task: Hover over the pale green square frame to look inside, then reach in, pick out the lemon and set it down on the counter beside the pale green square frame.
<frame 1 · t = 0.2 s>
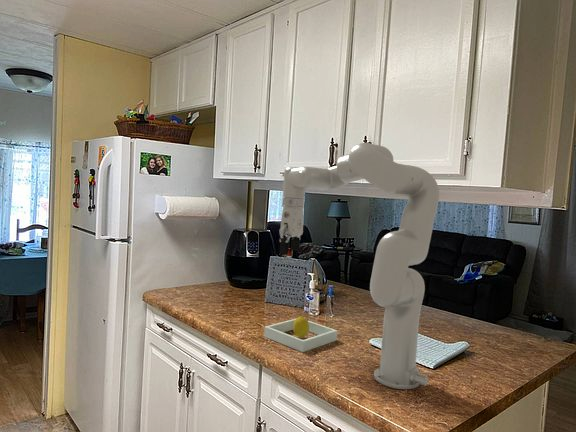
hand: (289, 252, 149), 30 cm above the counter, tool pointing down, fingers open, 9 cm apart
lemon: (300, 339, 149), resting in pale green square frame
pale green square frame: (300, 338, 149), on the counter
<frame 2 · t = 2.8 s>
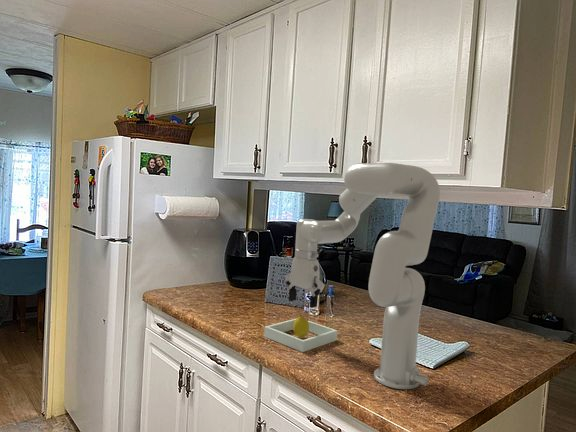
hand: (302, 303, 148), 12 cm above the counter, tool pointing down, fingers open, 9 cm apart
nothing on the counter moved.
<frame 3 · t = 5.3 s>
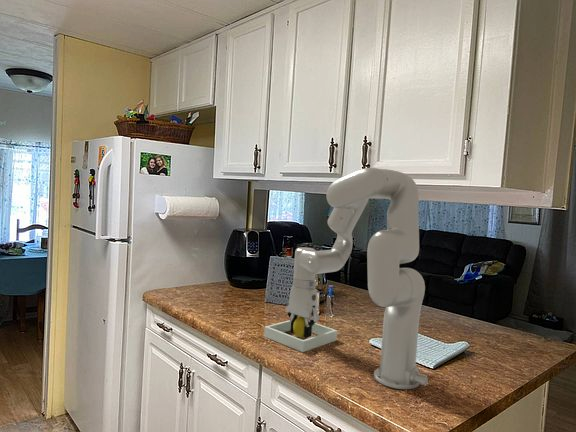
hand: (300, 334, 149), 2 cm above the counter, tool pointing down, fingers closed on lemon, 5 cm apart
lemon: (300, 339, 149), resting in pale green square frame, touching gripper
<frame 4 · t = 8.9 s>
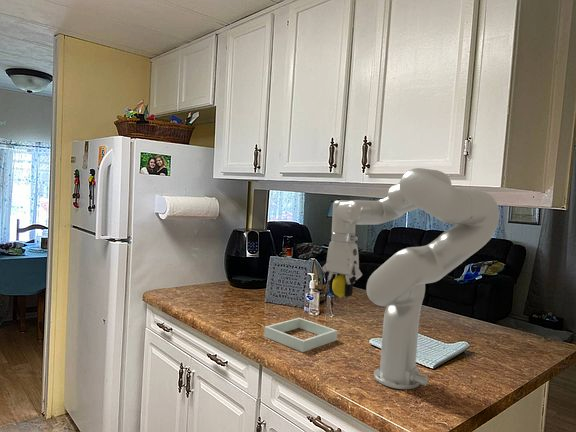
hand: (340, 293, 138), 19 cm above the counter, tool pointing down, fingers closed on lemon, 5 cm apart
lemon: (340, 298, 138), point 17 cm above the counter, touching gripper
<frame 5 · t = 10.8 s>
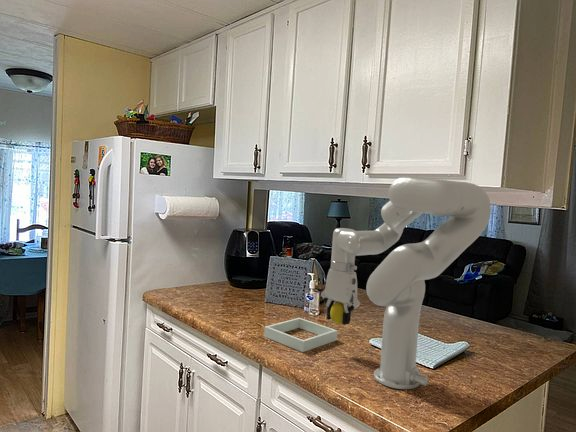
hand: (338, 320, 139), 10 cm above the counter, tool pointing down, fingers closed on lemon, 5 cm apart
lemon: (337, 325, 139), point 8 cm above the counter, touching gripper
when the fingers open (3 cm above the counter, at t = 12.5 s): lemon drops 2 cm, on the counter.
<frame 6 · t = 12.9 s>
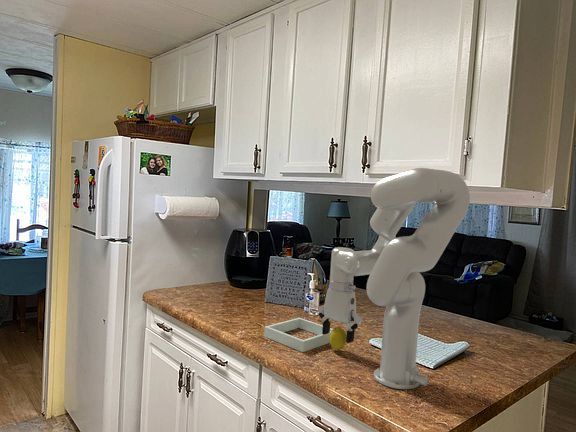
hand: (337, 337, 139), 4 cm above the counter, tool pointing down, fingers open, 9 cm apart
lemon: (337, 351, 139), on the counter
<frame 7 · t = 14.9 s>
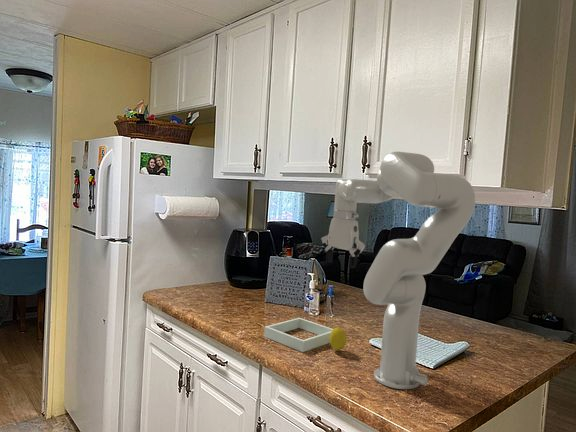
hand: (340, 265, 147), 27 cm above the counter, tool pointing down, fingers open, 9 cm apart
nothing on the counter moved.
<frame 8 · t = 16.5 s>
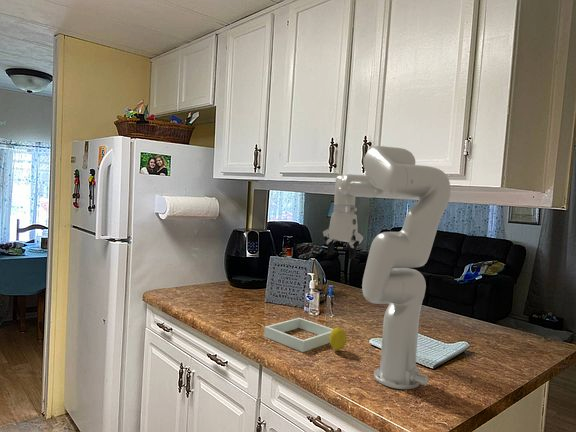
hand: (340, 256, 155), 28 cm above the counter, tool pointing down, fingers open, 9 cm apart
nothing on the counter moved.
at the end: lemon inside the target area (0.6 cm from its centre), on the counter; the gripper is holding nothing; lemon moved 15.2 cm from its start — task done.
